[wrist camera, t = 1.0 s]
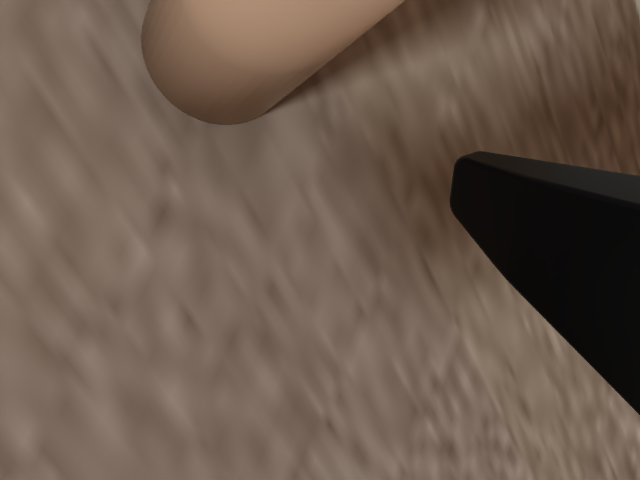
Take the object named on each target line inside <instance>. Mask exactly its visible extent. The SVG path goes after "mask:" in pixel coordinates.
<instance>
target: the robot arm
mask: <svg viewBox="0 0 640 480" xmlns="http://www.w3.org/2000/svg"><path fill="white" fill-rule="evenodd" d="M450 207H451V210H452V212H453V214H454V216H455V217H456V218H457V219H458V221H459V222H460V223H461V224H462V226H463V227H464V228H465V229H466V231H467V232H468V233H469V234H470V236H471V237H472V238H473V239H474V241H475V242H476V243H477V244H478V245H479V247H480V248H481V249H482V250H483V252H484V253H485V254H486V255H487V257H488V258H489V259H490V260H491V262H492V263H493V264H494V265H495V267H496V268H497V269H498V270H499V271H500V272H501V274H502V275H503V276H504V277H505V278H506V279H507V280H508V282H509V283H510V284H511V285H512V286H513V287H514V288H515V289H516V290H517V291H518V292H519V293H520V294H521V295H522V296H523V297H524V298H525V299H526V300H527V301H528V302H529V303H530V304H531V305H532V306H533V307H534V308H535V309H536V310H537V311H538V312H539V313H540V314H541V315H542V316H543V317H544V318H545V319H546V320H547V321H548V322H549V323H550V324H551V325H552V327H553V328H554V329H555V330H556V331H557V332H558V333H559V334H560V335H561V336H562V337H563V338H564V339H565V340H566V341H567V342H568V343H569V344H570V345H571V346H572V347H573V348H574V349H575V350H576V351H577V352H578V353H579V354H580V355H581V356H582V357H583V358H584V359H585V360H586V361H587V362H588V363H589V364H590V365H591V366H592V367H593V368H594V369H595V370H596V371H597V372H598V373H599V374H600V375H601V376H602V377H603V378H604V379H605V380H606V381H607V382H608V383H609V384H610V385H611V386H612V387H613V388H614V389H615V390H616V391H617V392H618V393H619V394H620V395H621V396H622V398H623V399H624V400H625V401H626V402H627V403H628V404H629V405H630V406H631V407H632V408H633V409H634V410H635V411H636V412H637V413H638V414H639V415H640V176H635V175H628V174H622V173H616V172H609V171H603V170H597V169H590V168H584V167H578V166H571V165H565V164H559V163H552V162H546V161H540V160H533V159H527V158H521V157H514V156H508V155H502V154H495V153H489V152H483V151H479V152H474V153H471V154H468V155H465V156H462V157H460V158H459V159H458V160H457V161H456V163H455V165H454V171H453V179H452V186H451V194H450Z"/></svg>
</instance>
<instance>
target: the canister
mask: <svg viewBox="0 0 640 480" xmlns="http://www.w3.org/2000/svg"><path fill="white" fill-rule="evenodd" d="M404 1H405V0H151V1H150V3H149V6H148V9H147V12H146V15H145V18H144V22H143V26H142V34H141V43H142V52H143V58H144V61H145V64H146V67H147V70H148V72H149V74H150V76H151V78H152V80H153V81H154V83H155V85H156V86H157V88H158V89H159V90H160V91H161V93H162V94H163V95H164V96H165V97H166V98H167V99H168V100H169V101H170V102H171V103H172V104H173V105H175V106H176V107H177V108H178V109H180V110H181V111H183V112H184V113H186V114H188V115H190V116H192V117H194V118H196V119H198V120H201V121H205V122H208V123H213V124H219V125H233V124H240V123H245V122H248V121H251V120H253V119H256V118H257V117H259V116H261V115H263V114H264V113H265V112H267V111H268V110H269V109H271V108H272V107H273V106H274V105H276V104H277V103H278V102H279V101H281V100H282V99H283V98H284V97H286V96H287V95H288V94H289V93H291V92H292V91H293V90H294V89H296V88H297V87H298V86H299V85H301V84H302V83H303V82H304V81H306V80H307V79H308V78H309V77H311V76H312V75H313V74H314V73H315V72H317V71H318V70H319V69H320V68H322V67H323V66H324V65H325V64H327V63H328V62H329V61H330V60H332V59H333V58H334V57H335V56H337V55H338V54H339V53H340V52H342V51H343V50H344V49H345V48H347V47H348V46H349V45H350V44H352V43H353V42H354V41H355V40H357V39H358V38H359V37H360V36H362V35H363V34H364V33H365V32H367V31H368V30H369V29H370V28H372V27H373V26H374V25H375V24H377V23H378V22H379V21H380V20H382V19H383V18H384V17H385V16H387V15H388V14H389V13H390V12H392V11H393V10H394V9H395V8H396V7H398V6H399V5H400V4H401V3H403V2H404Z"/></svg>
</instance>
